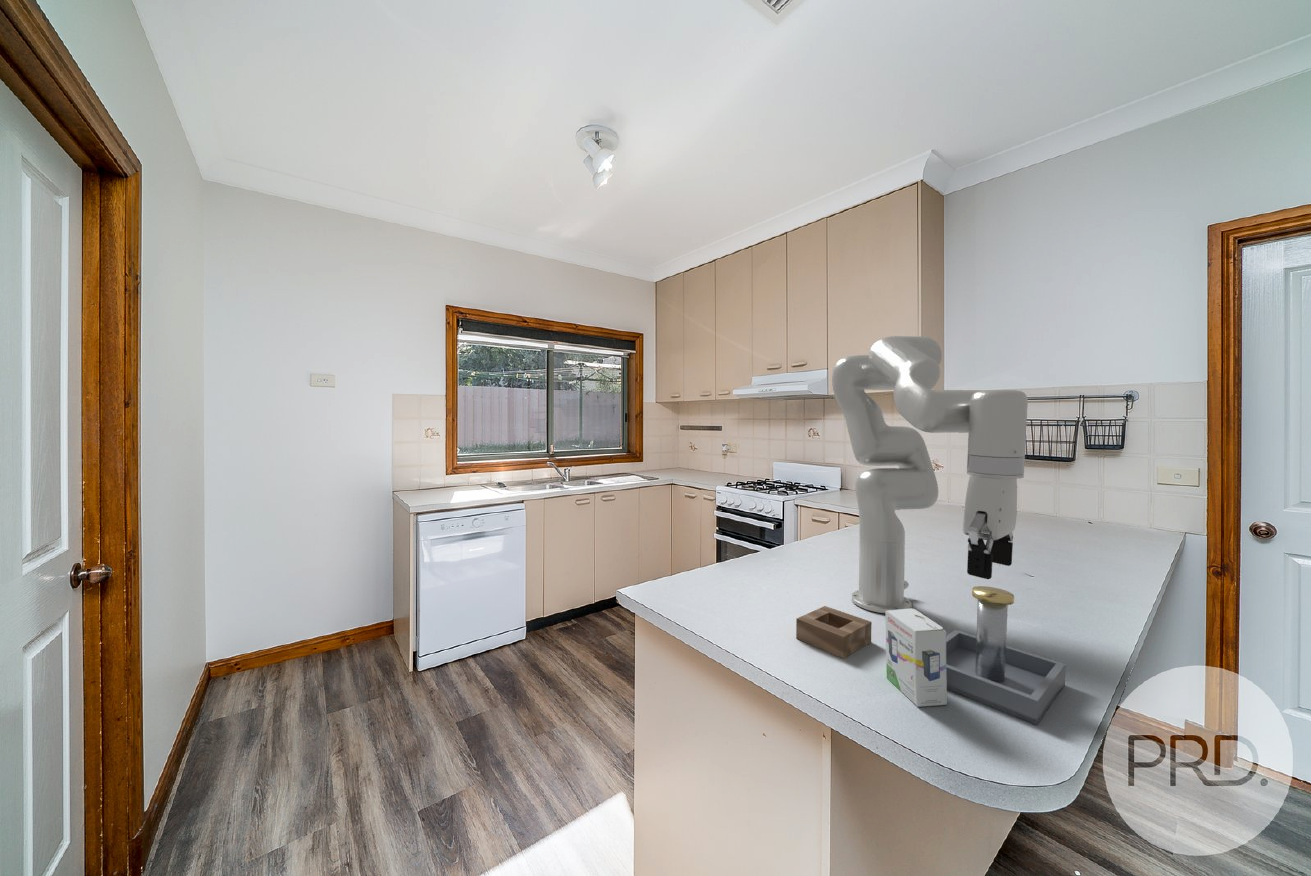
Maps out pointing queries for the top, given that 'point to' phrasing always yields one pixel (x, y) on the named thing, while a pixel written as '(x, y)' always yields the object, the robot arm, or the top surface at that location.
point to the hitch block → (834, 631)
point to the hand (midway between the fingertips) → (989, 569)
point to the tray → (1025, 679)
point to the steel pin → (991, 631)
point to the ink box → (916, 656)
